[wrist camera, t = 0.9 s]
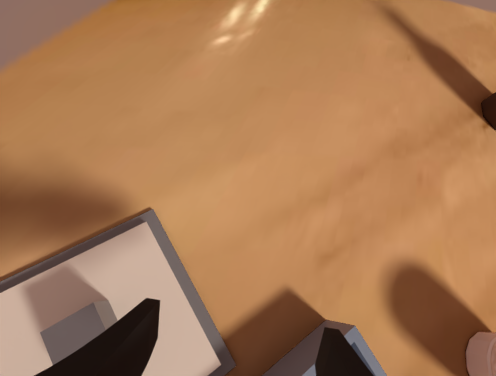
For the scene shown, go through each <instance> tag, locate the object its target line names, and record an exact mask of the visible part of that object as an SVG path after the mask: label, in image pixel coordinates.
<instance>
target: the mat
mask: <svg viewBox="0 0 496 376" xmlns="http://www.w3.org/2000/svg"><path fill="white" fill-rule="evenodd" d="M144 222H147V224H148V225H149V227H150V229H151V231H152V233H153V235H154V237H155V239H156V241H157V243H158V245H159V247H160V248H161V250H162V252H163V254H164V256H165V258H166V260H167V262H168V264H169V266H170V268H171V270H172V271H173V273H174V275H175V277H176V279H177V281H178V283H179V285H180V287H181V289H182V291H183V293H184V294H185V296H186V298H187V300H188V302H189V304H190V306H191V308H192V310H193V312H194V314H195V315H196V317H197V319H198V321H199V323H200V325H201V327H202V329H203V331H204V333H205V335H206V337H207V338H208V340H209V342H210V344H211V346H212V348H213V350H214V352H215V354H216V356H217V358H218V360H219V361H220V363H221V365H220V366H219V367H218V368H216V369H215V370H214V371H213V372H211V373H210V374H209V375H208V376H224V375H225V374H227V373H228V372H229V371H230V370H232V369H233V368H234V367H235V366H236V364H235V362H234V360H233V358H232V356H231V354H230V353H229V351H228V349H227V347H226V345H225V343H224V341H223V339H222V338H221V336H220V334H219V332H218V330H217V328H216V326H215V324H214V323H213V321H212V319H211V317H210V315H209V313H208V311H207V309H206V308H205V306H204V304H203V302H202V300H201V298H200V296H199V294H198V293H197V291H196V289H195V287H194V285H193V283H192V281H191V279H190V278H189V276H188V274H187V272H186V270H185V268H184V266H183V264H182V263H181V261H180V259H179V257H178V255H177V253H176V251H175V249H174V248H173V246H172V244H171V242H170V240H169V238H168V236H167V234H166V232H165V231H164V229H163V227H162V225H161V223H160V221H159V219H158V217H157V216H156V214H155V212H154V210H153V209H152V210H150V211H148V212H146V213H144V214H142V215H139V216H137V217H135V218H133V219H131V220H129V221H127V222H125V223H123V224H120V225H118V226H116V227H114V228H112V229H110V230H108V231H106V232H104V233H102V234H99V235H97V236H95V237H93V238H91V239H89V240H87V241H85V242H83V243H81V244H78V245H76V246H74V247H72V248H70V249H68V250H66V251H64V252H62V253H60V254H57V255H55V256H53V257H51V258H49V259H47V260H45V261H43V262H41V263H39V264H36V265H34V266H32V267H30V268H28V269H26V270H24V271H22V272H20V273H18V274H15V275H13V276H11V277H9V278H7V279H5V280H3V281H1V282H0V293H2V292H4V291H6V290H8V289H10V288H12V287H14V286H16V285H18V284H20V283H22V282H24V281H26V280H28V279H30V278H32V277H34V276H36V275H38V274H40V273H42V272H44V271H46V270H48V269H51V268H53V267H55V266H57V265H59V264H61V263H63V262H65V261H67V260H69V259H71V258H73V257H75V256H77V255H79V254H81V253H83V252H85V251H87V250H89V249H91V248H93V247H95V246H97V245H100V244H102V243H104V242H106V241H108V240H110V239H112V238H114V237H116V236H118V235H120V234H122V233H124V232H126V231H128V230H130V229H132V228H134V227H136V226H138V225H140V224H142V223H144Z"/></svg>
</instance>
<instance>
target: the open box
mask: <svg viewBox="0 0 496 376" xmlns="http://www.w3.org/2000/svg"><path fill="white" fill-rule="evenodd" d="M325 327H328V328H334V329H339V330H340V332H341V333H342V334H343V336H344V337H345V338H346V340H347V341H348V342H349V344H350V345H351V346H352V348H353V349H354V350H355V352H356V353H357V354H358V356H359V357H360V358H361V360H362V361H363V362H364V364H365V365H366V366H367V368H368V369H369V370H370V371H371V373H372V374H373V375H374V376H387V375H386V373H385V372H384V370H383V369H382V367H381V366H380V364H379V362H378V361H377V359H376V358H375V356H374V355H373V353H372V351H371V350H370V348H369V347H368V345H367V344H366V342H365V340H364V339H363V337H362V336H361V334H360V333H359V331H358V329H357V328H356V326H354V325H349V324H345V323H340V322H335V321H330V320H325V321H324V322H323V323H322V324H321V325H319V326H318V327H317V328H316V329H315V330H314V331H313V332H311V333H310V334H309V335H308V336H307V337H306V338H305V339H303V340H302V341H301V342H300V343H299V344H298V345H297V346H295V347H294V348H293V349H292V350H291V351H290V352H288V353H287V354H286V355H285V356H284V357H283V358H282V359H280V360H279V361H278V362H277V363H276V364H275V365H274V366H272V367H271V368H270V369H269V370H268V371H267V372H266V373H264V374H263V375H262V376H316V371H315V362H316V358H317V355H318V351H319V347H320V343H321V339H322V335H323V331H324V328H325Z"/></svg>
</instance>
